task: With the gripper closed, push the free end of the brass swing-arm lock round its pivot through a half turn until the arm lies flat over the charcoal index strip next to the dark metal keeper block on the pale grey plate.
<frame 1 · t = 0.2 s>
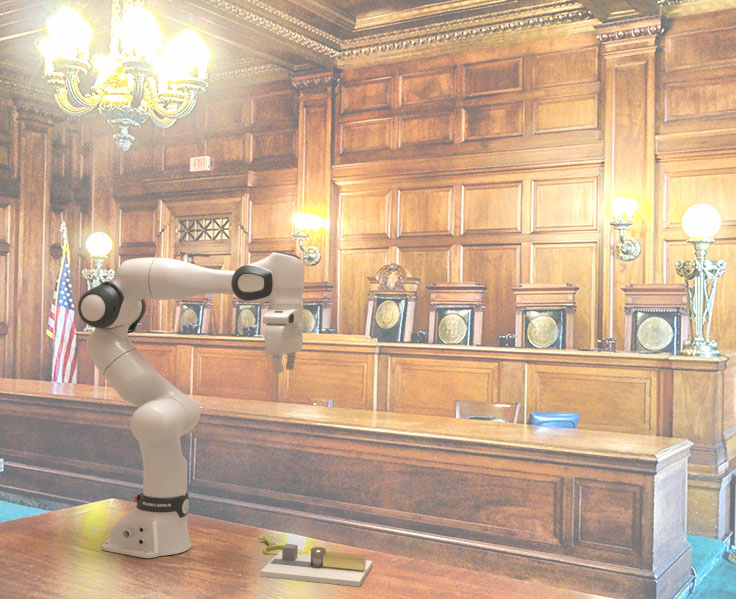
hand: (284, 371, 200), 47 cm above the table, tool pointing down, fingers open, 8 cm apart
swing arm: (337, 558, 192), point 3 cm above the table, hinge at 0.0°
lock plate: (317, 570, 193), on the table
key: (272, 550, 209), on the table
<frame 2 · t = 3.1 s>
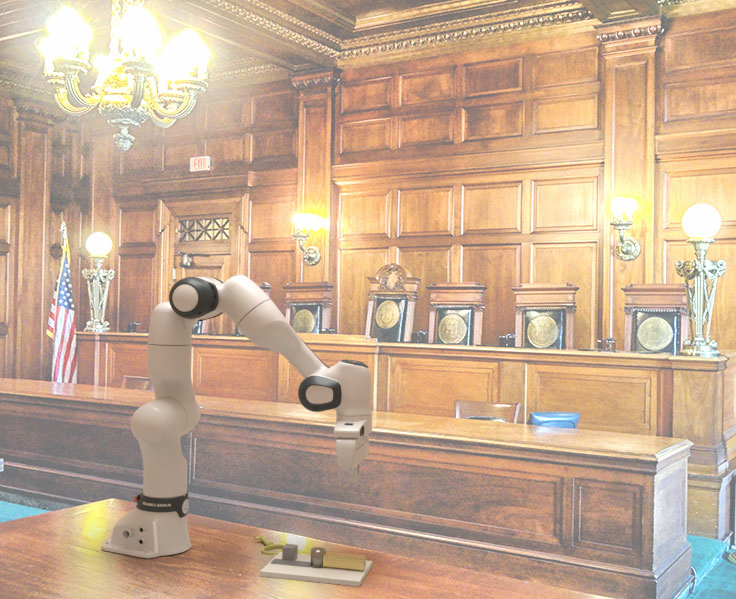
hand: (354, 481, 197), 21 cm above the table, tool pointing down, fingers closed
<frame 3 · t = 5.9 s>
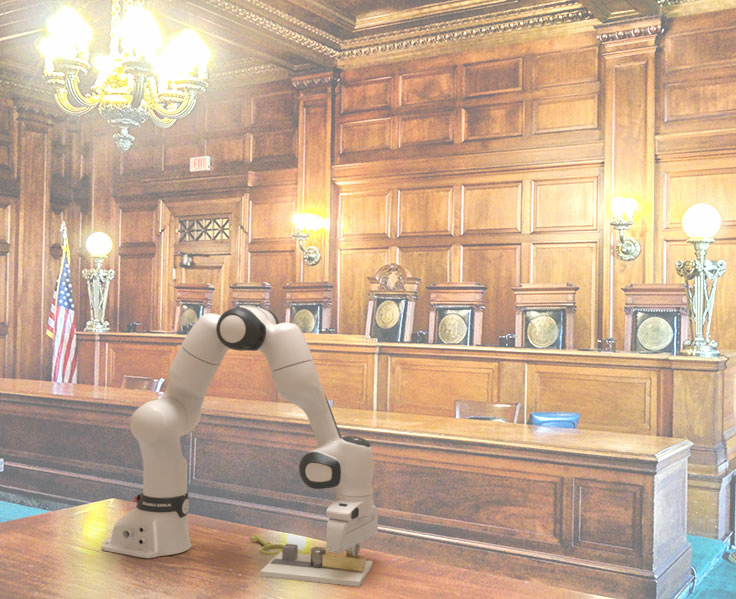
hand: (352, 561, 193), 2 cm above the table, tool pointing down, fingers closed
swing arm: (337, 559, 191), point 3 cm above the table, hinge at 4.3°, touching gripper
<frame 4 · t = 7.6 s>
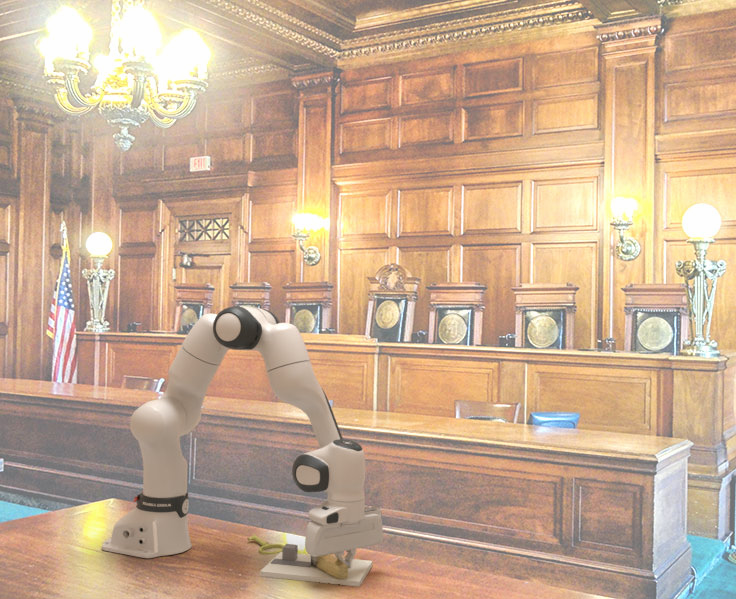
hand: (344, 568, 188), 2 cm above the table, tool pointing down, fingers closed
swing arm: (328, 562, 189), point 3 cm above the table, hinge at 44.3°, touching gripper
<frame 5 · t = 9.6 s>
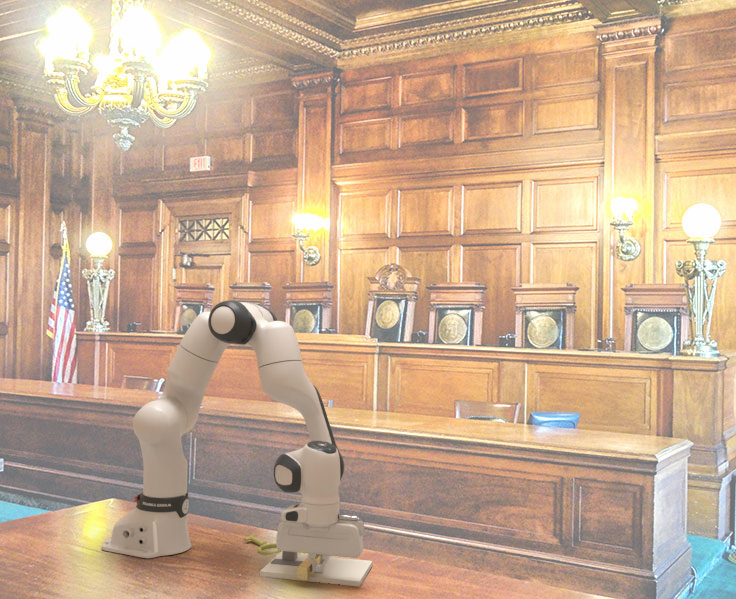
hand: (318, 572, 184), 2 cm above the table, tool pointing down, fingers closed
swing arm: (311, 563, 188), point 3 cm above the table, hinge at 93.2°, touching gripper
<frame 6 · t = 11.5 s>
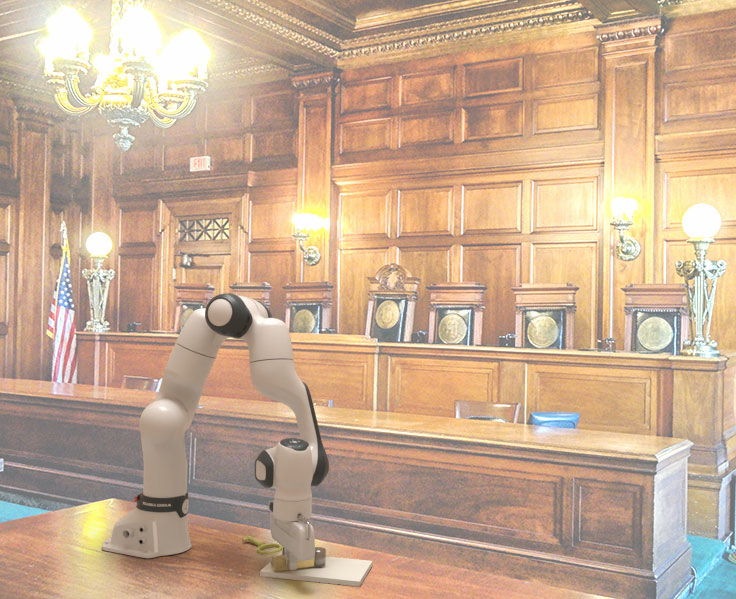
hand: (291, 568, 187), 2 cm above the table, tool pointing down, fingers closed
swing arm: (299, 559, 190), point 3 cm above the table, hinge at 142.0°, touching gripper
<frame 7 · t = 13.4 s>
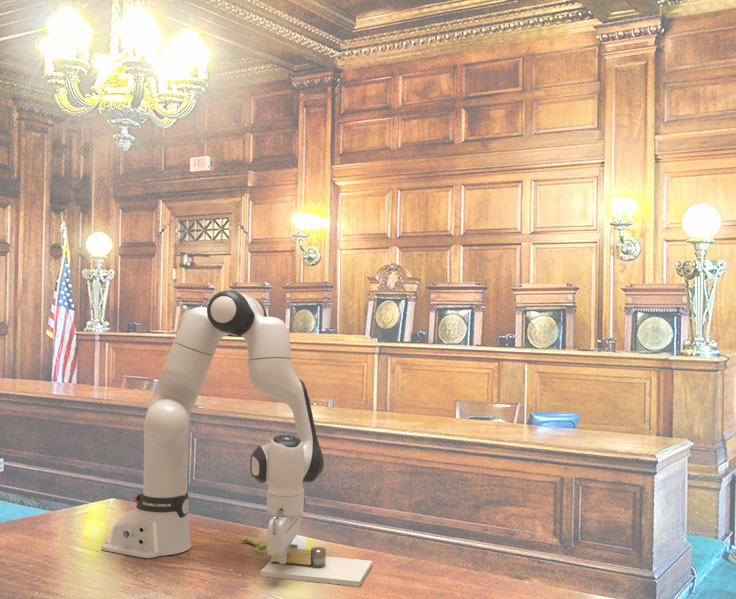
hand: (283, 562, 191), 2 cm above the table, tool pointing down, fingers closed
swing arm: (298, 555, 193), point 3 cm above the table, hinge at 178.0°, touching gripper
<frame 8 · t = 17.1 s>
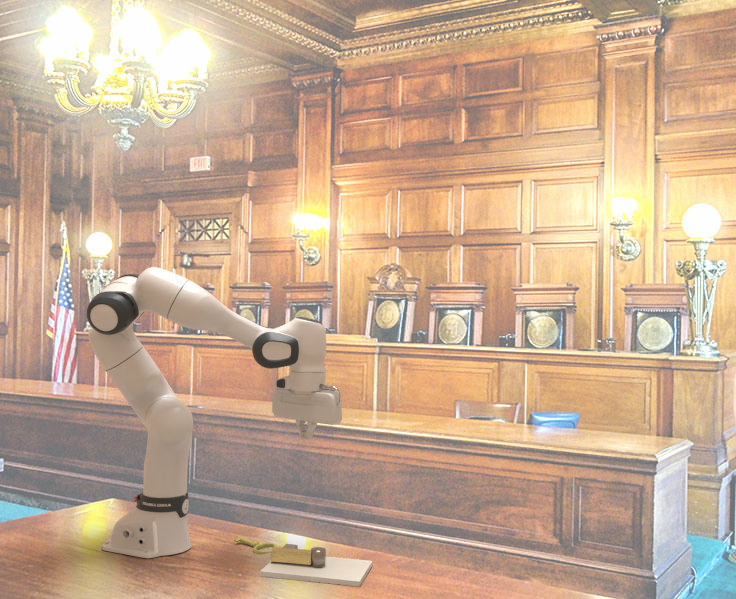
hand: (305, 438, 197), 31 cm above the table, tool pointing down, fingers closed
swing arm: (298, 555, 193), point 3 cm above the table, hinge at 178.2°
at the end: swing arm at +178° (first picture: +0°); swing arm touching nothing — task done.
